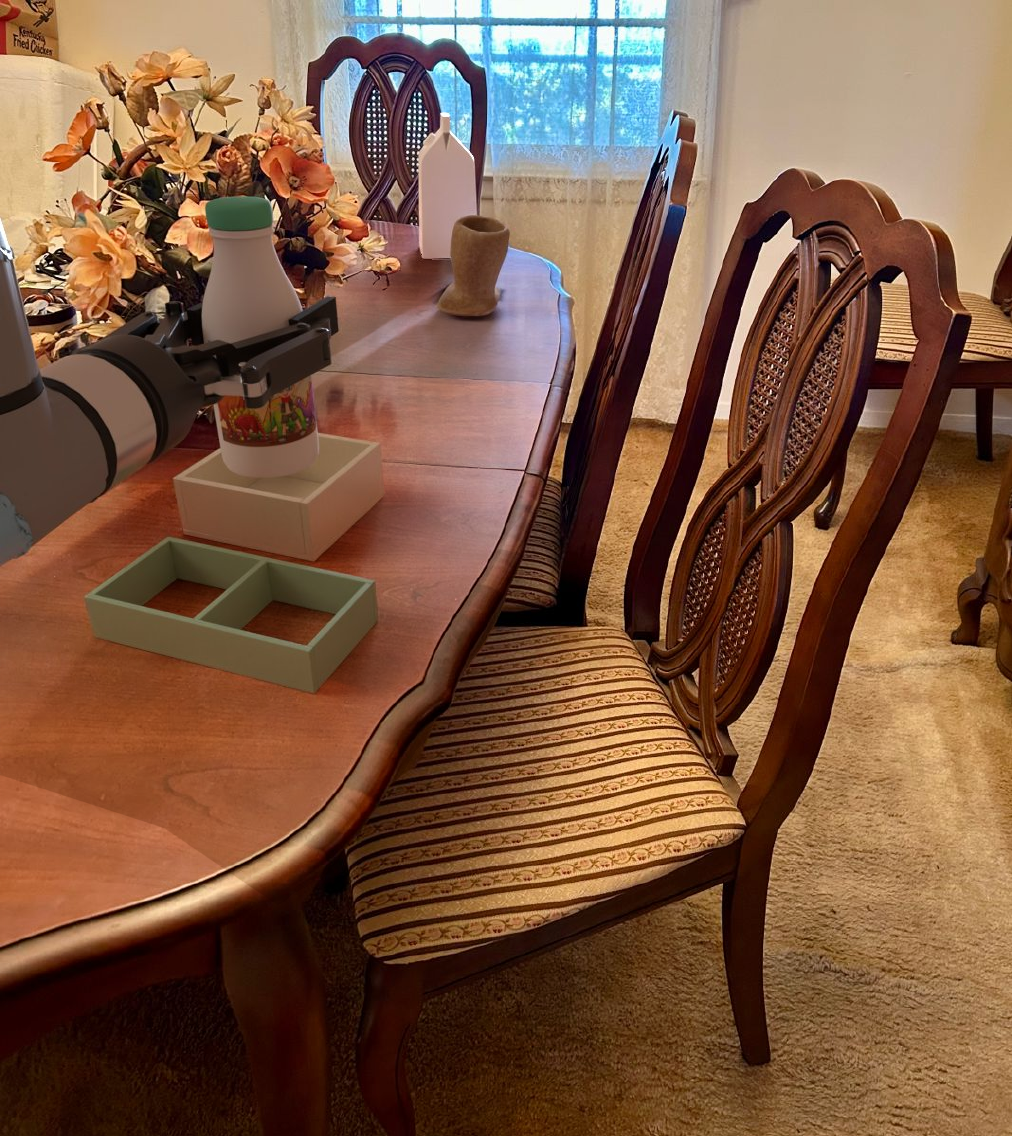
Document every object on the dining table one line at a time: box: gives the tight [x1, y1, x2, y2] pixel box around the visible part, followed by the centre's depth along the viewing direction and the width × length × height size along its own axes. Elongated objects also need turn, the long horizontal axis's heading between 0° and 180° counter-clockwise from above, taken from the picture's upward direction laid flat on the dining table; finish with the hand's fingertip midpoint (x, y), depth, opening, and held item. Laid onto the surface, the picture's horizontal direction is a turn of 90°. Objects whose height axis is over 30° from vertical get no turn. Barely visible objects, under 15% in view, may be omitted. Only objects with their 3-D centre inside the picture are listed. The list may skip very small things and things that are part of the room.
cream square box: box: [172, 432, 385, 563], centre depth 93 cm, size 15×15×6 cm
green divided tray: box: [83, 536, 379, 695], centre depth 77 cm, size 21×11×4 cm, turn 70°
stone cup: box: [437, 214, 511, 317], centre depth 155 cm, size 15×12×15 cm
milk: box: [417, 112, 478, 258], centre depth 188 cm, size 12×12×26 cm
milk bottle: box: [202, 195, 319, 478], centre depth 71 cm, size 8×8×20 cm
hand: (284, 309), depth 74 cm, fingers closed on milk bottle, 8 cm apart
